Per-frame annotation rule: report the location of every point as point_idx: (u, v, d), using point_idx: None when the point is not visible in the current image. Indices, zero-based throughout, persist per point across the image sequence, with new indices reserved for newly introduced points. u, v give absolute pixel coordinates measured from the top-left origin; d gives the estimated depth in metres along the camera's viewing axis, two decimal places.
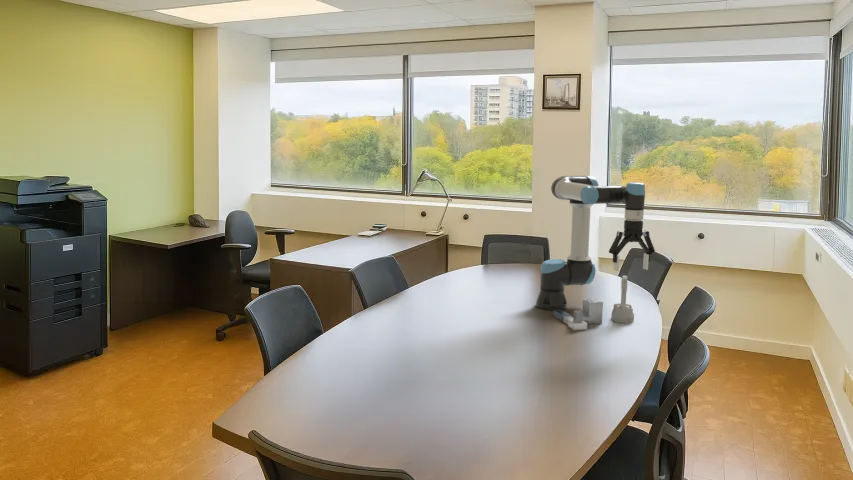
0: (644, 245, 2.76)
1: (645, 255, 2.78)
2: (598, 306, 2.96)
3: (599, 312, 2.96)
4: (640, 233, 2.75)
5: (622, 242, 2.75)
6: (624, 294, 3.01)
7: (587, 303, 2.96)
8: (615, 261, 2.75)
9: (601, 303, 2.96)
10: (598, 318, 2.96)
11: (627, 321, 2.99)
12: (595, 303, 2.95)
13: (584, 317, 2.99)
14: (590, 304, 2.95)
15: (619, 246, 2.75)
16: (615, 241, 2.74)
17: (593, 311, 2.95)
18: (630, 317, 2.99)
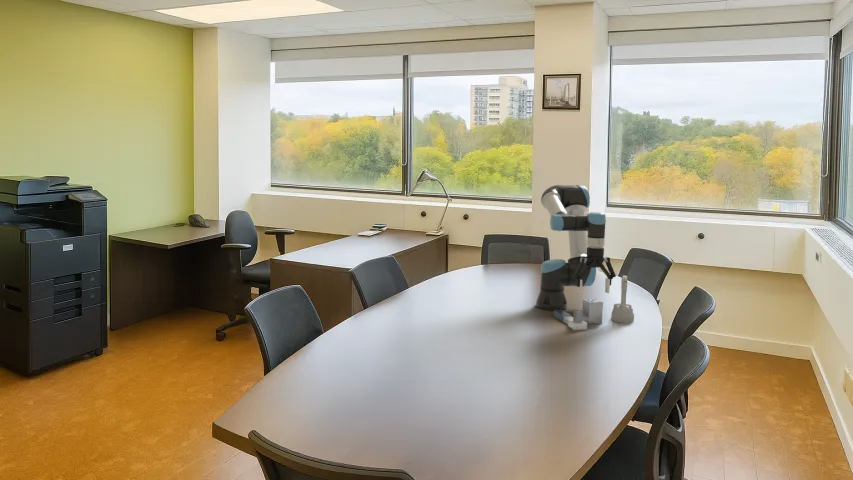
0: (605, 270, 2.96)
1: (607, 279, 2.98)
2: (598, 306, 2.96)
3: (599, 312, 2.96)
4: (601, 259, 2.95)
5: (585, 268, 2.95)
6: (624, 294, 3.01)
7: (587, 303, 2.96)
8: (578, 285, 2.94)
9: (601, 303, 2.96)
10: (598, 318, 2.96)
11: (627, 321, 2.99)
12: (595, 303, 2.95)
13: (584, 317, 2.99)
14: (590, 304, 2.95)
15: (582, 271, 2.94)
16: (578, 267, 2.94)
17: (593, 311, 2.95)
18: (630, 317, 2.99)
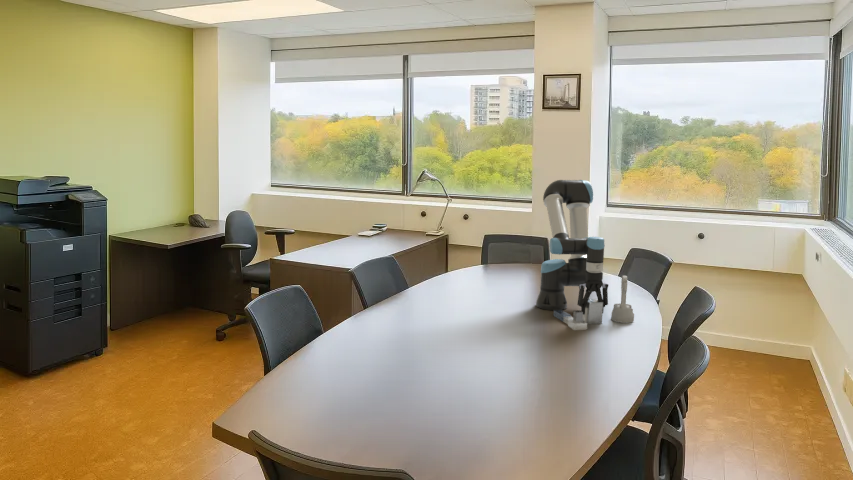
0: (600, 297, 2.98)
1: None
2: (598, 306, 2.96)
3: (599, 312, 2.96)
4: (600, 283, 2.97)
5: (586, 294, 2.97)
6: (624, 294, 3.01)
7: (587, 303, 2.96)
8: (583, 313, 2.97)
9: (601, 303, 2.96)
10: (598, 318, 2.96)
11: (627, 321, 2.99)
12: (595, 303, 2.95)
13: None
14: (590, 304, 2.95)
15: (584, 298, 2.97)
16: (580, 294, 2.96)
17: (593, 311, 2.95)
18: (630, 317, 2.99)
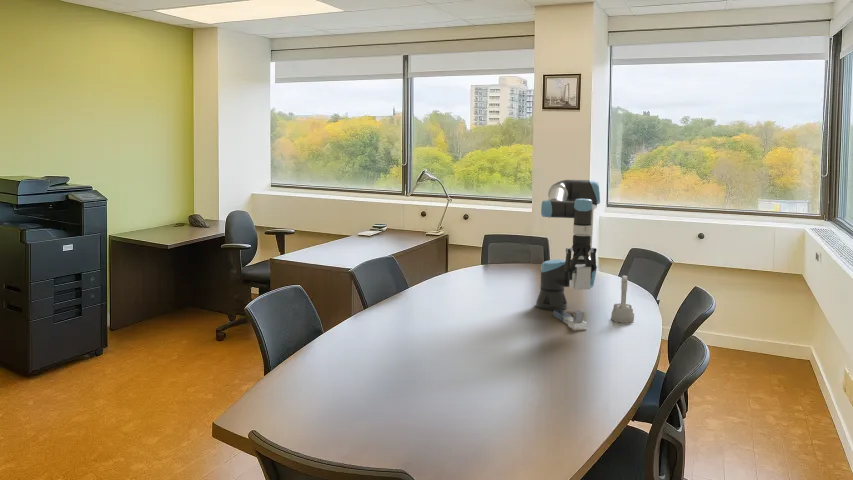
0: (588, 261, 2.85)
1: None
2: (586, 271, 2.83)
3: (587, 277, 2.83)
4: (588, 247, 2.84)
5: (573, 258, 2.84)
6: (624, 294, 3.01)
7: (574, 268, 2.83)
8: (570, 278, 2.84)
9: (589, 268, 2.83)
10: (586, 284, 2.83)
11: (627, 321, 2.99)
12: (583, 268, 2.82)
13: None
14: (577, 269, 2.81)
15: (572, 263, 2.84)
16: (567, 259, 2.83)
17: (580, 276, 2.82)
18: (630, 317, 2.99)
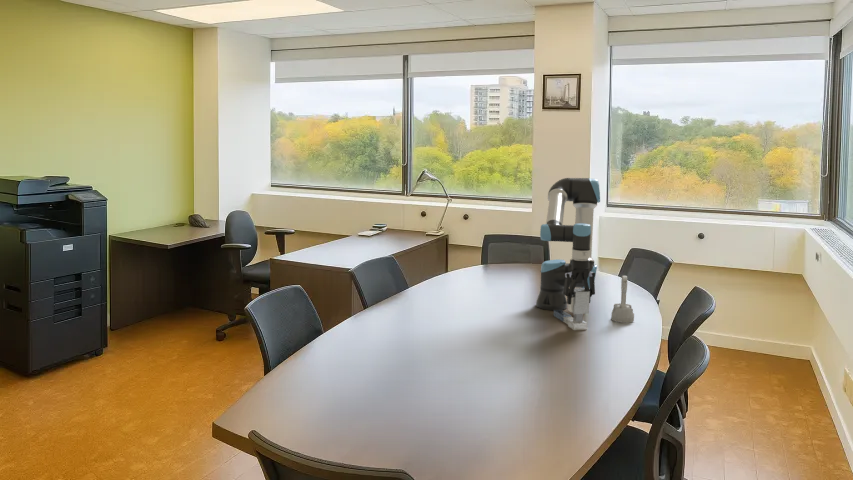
0: (587, 286, 2.86)
1: None
2: (585, 295, 2.84)
3: (586, 302, 2.85)
4: (587, 272, 2.85)
5: (572, 283, 2.86)
6: (624, 294, 3.01)
7: (573, 292, 2.85)
8: (569, 303, 2.86)
9: (588, 292, 2.84)
10: (585, 308, 2.85)
11: (627, 321, 2.99)
12: (581, 292, 2.84)
13: None
14: (576, 293, 2.83)
15: (570, 287, 2.86)
16: (565, 283, 2.85)
17: (579, 301, 2.84)
18: (630, 317, 2.99)
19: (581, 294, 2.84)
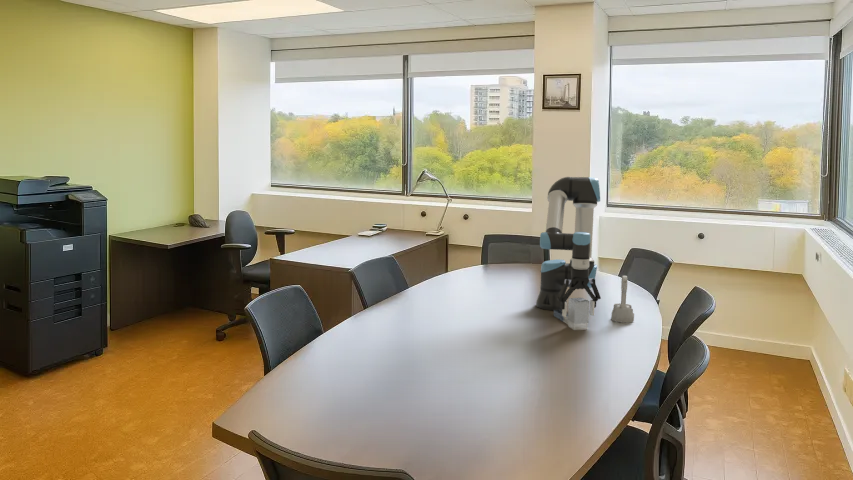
0: (590, 292, 2.87)
1: (591, 301, 2.89)
2: (584, 305, 2.85)
3: (585, 311, 2.85)
4: (586, 280, 2.86)
5: (569, 289, 2.86)
6: (624, 294, 3.01)
7: (573, 302, 2.86)
8: (563, 308, 2.86)
9: (587, 302, 2.85)
10: (584, 318, 2.86)
11: (627, 321, 2.99)
12: (581, 302, 2.84)
13: (570, 317, 2.89)
14: (576, 303, 2.84)
15: (566, 293, 2.86)
16: (562, 289, 2.85)
17: (579, 310, 2.85)
18: (630, 317, 2.99)
19: (581, 304, 2.84)
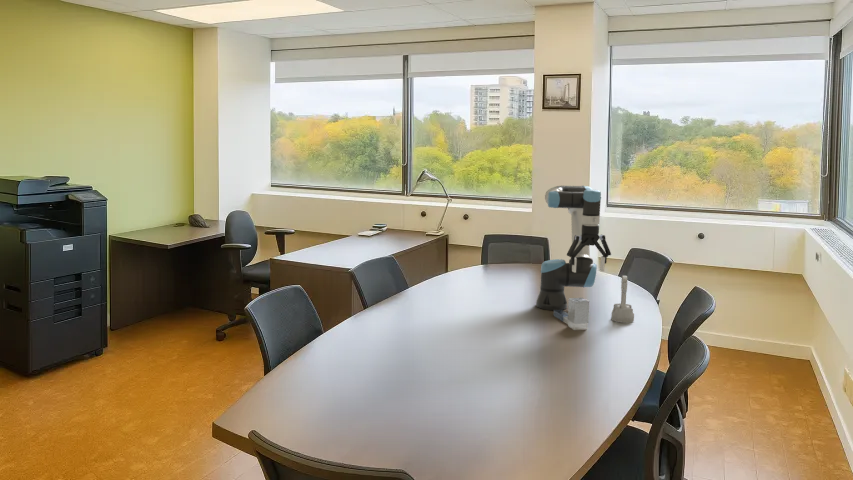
0: (600, 248, 2.93)
1: (602, 258, 2.95)
2: (584, 305, 2.85)
3: (585, 311, 2.85)
4: (596, 237, 2.92)
5: (579, 245, 2.92)
6: (624, 294, 3.01)
7: (573, 302, 2.86)
8: (572, 263, 2.92)
9: (587, 302, 2.85)
10: (584, 318, 2.86)
11: (627, 321, 2.99)
12: (581, 302, 2.84)
13: (570, 317, 2.89)
14: (576, 303, 2.84)
15: (576, 249, 2.92)
16: (572, 245, 2.91)
17: (579, 310, 2.85)
18: (630, 317, 2.99)
19: (581, 304, 2.84)
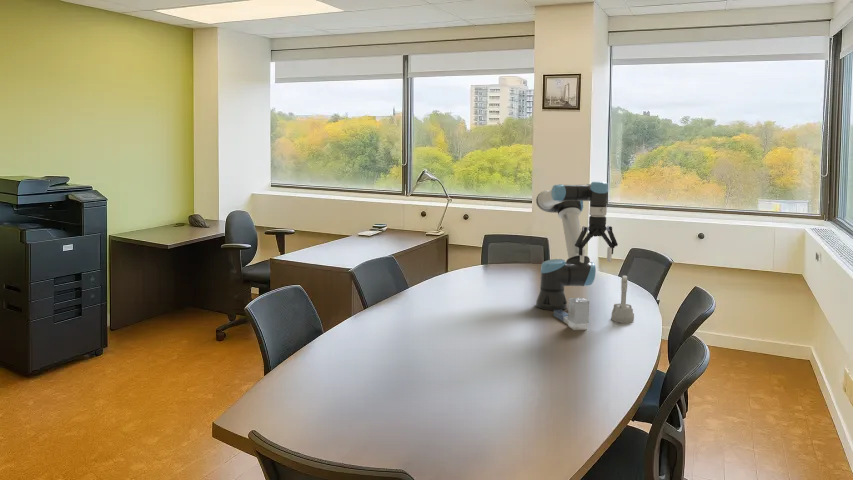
0: (607, 239, 3.00)
1: (609, 248, 3.02)
2: (584, 305, 2.85)
3: (585, 311, 2.85)
4: (604, 228, 2.98)
5: (587, 236, 2.98)
6: (624, 294, 3.01)
7: (573, 302, 2.86)
8: (580, 254, 2.98)
9: (587, 302, 2.85)
10: (584, 318, 2.86)
11: (627, 321, 2.99)
12: (581, 302, 2.84)
13: (570, 317, 2.89)
14: (576, 303, 2.84)
15: (584, 240, 2.98)
16: (580, 235, 2.97)
17: (579, 310, 2.85)
18: (630, 317, 2.99)
19: (581, 304, 2.84)
